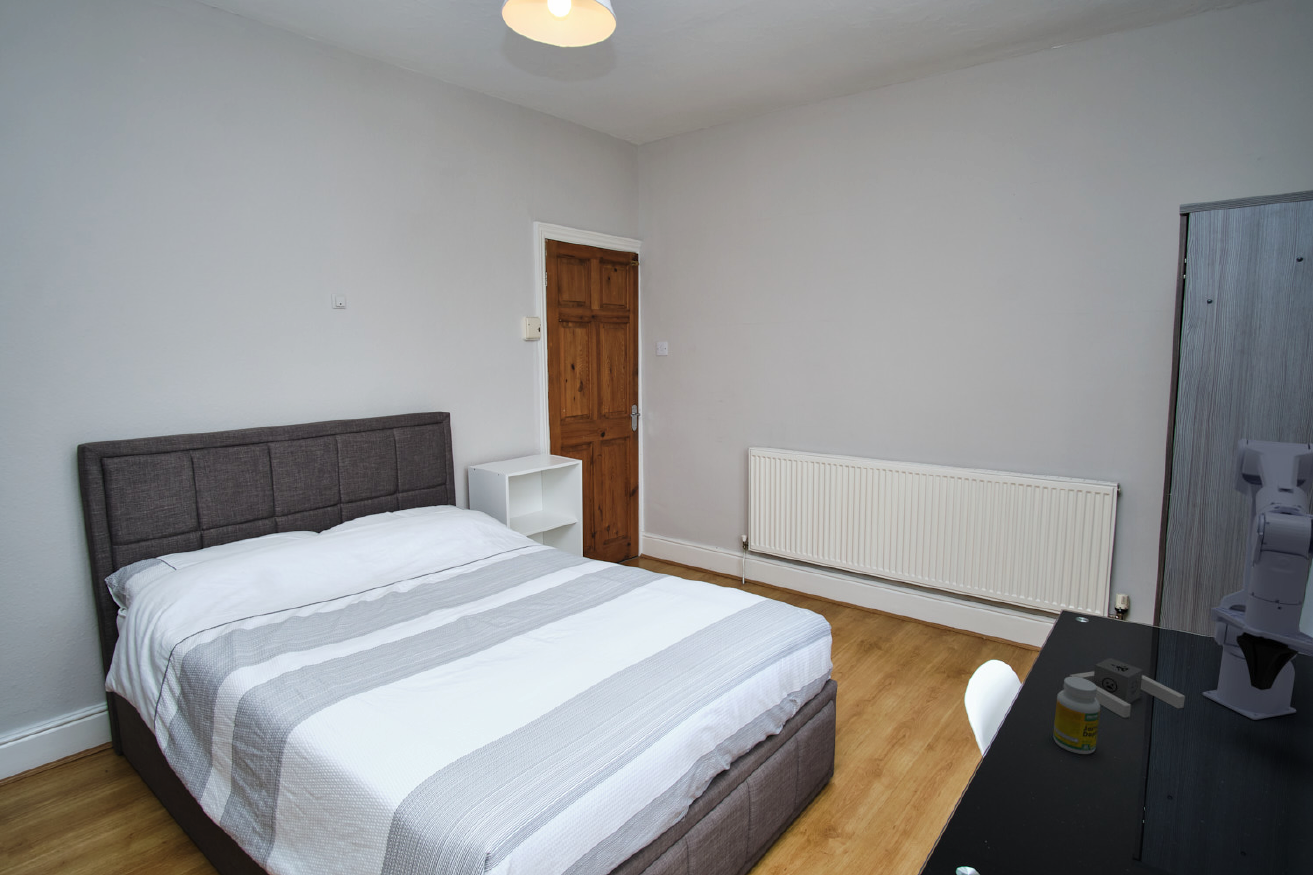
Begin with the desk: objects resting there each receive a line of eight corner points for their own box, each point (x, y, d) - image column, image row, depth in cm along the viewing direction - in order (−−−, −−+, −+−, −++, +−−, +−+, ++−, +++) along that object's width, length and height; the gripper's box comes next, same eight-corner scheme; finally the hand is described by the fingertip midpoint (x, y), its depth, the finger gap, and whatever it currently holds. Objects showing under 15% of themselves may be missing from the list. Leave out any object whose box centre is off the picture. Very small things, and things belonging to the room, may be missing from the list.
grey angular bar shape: (1125, 677, 119) (1126, 666, 119) (1183, 707, 110) (1185, 695, 109) (1068, 685, 116) (1069, 674, 116) (1123, 717, 106) (1125, 705, 106)
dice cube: (1124, 706, 110) (1128, 677, 109) (1091, 692, 114) (1095, 664, 113) (1139, 698, 113) (1142, 669, 112) (1106, 684, 117) (1109, 657, 116)
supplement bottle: (1063, 729, 103) (1070, 670, 101) (1102, 747, 98) (1109, 686, 97) (1045, 741, 100) (1051, 679, 98) (1084, 760, 95) (1091, 696, 94)
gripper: (1200, 581, 101) (1188, 666, 103) (1315, 620, 88) (1300, 717, 90) (1235, 577, 103) (1223, 661, 105) (1353, 615, 89) (1337, 710, 91)
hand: (1260, 687), depth 98 cm, fingers closed
